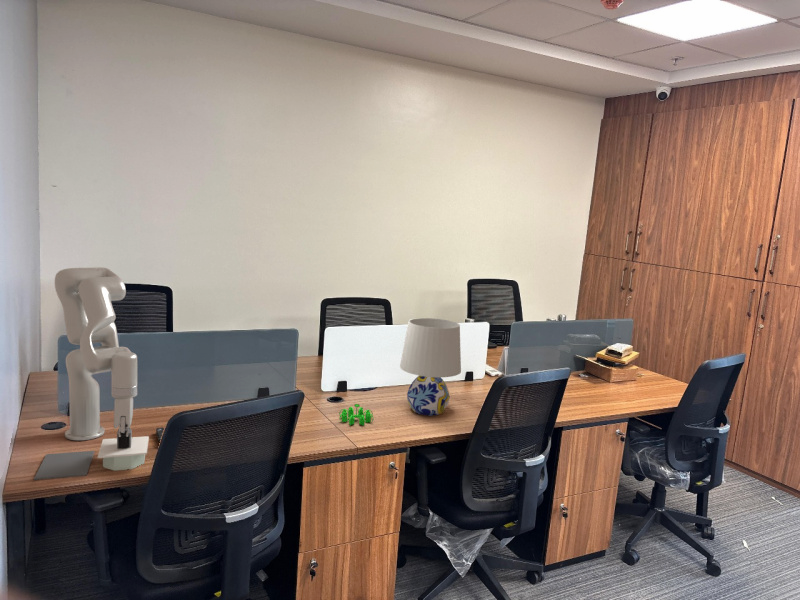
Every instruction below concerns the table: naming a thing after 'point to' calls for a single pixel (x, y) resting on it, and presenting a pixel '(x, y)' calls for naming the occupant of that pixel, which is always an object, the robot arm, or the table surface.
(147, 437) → the lid
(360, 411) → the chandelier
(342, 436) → the table surface
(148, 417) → the table surface
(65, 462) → the mat
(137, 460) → the bowl
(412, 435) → the table surface
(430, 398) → the table lamp
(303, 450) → the table surface
